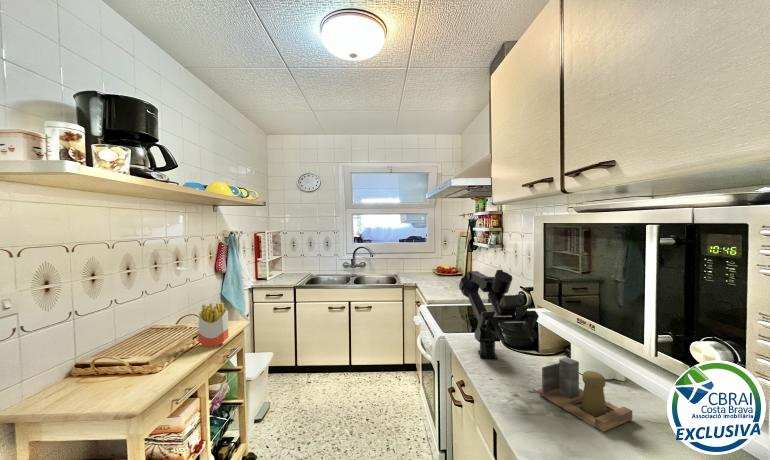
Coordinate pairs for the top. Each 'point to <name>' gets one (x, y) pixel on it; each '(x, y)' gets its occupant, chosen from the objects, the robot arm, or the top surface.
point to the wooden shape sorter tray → (576, 395)
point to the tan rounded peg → (593, 394)
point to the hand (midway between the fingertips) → (518, 340)
